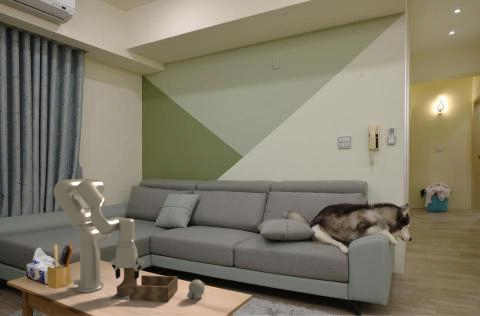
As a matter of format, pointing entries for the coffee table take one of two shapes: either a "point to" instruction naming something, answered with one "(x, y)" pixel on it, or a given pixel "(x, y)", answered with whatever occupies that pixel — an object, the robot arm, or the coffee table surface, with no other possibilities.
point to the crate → (154, 289)
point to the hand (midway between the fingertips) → (127, 278)
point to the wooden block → (126, 282)
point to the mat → (120, 297)
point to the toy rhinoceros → (196, 289)
